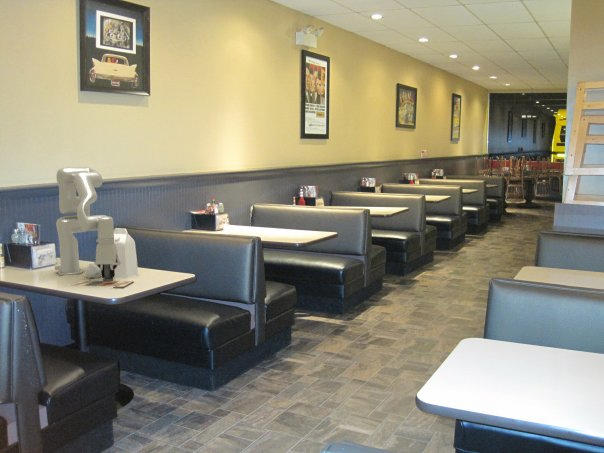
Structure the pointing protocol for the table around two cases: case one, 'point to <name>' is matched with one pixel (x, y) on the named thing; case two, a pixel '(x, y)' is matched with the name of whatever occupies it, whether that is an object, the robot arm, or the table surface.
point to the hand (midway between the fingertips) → (108, 277)
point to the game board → (104, 283)
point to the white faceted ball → (93, 271)
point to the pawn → (107, 274)
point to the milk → (125, 254)
